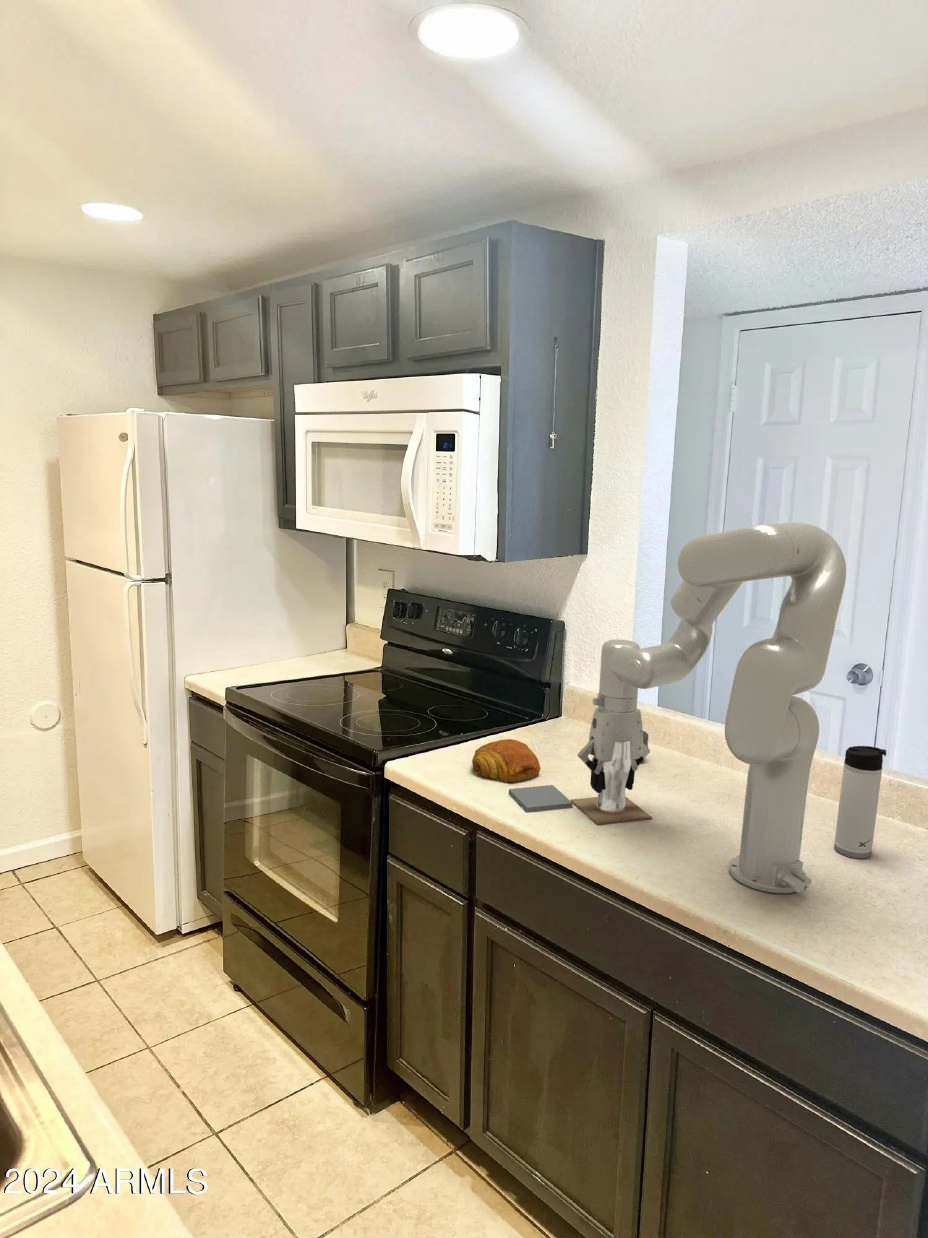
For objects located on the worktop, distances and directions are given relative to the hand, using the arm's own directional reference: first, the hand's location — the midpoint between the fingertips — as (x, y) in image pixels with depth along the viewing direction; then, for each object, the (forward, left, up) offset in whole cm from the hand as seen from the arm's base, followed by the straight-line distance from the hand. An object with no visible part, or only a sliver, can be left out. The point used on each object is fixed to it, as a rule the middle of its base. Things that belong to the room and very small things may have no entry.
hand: (611, 788), depth 168 cm
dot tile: (0, 0, -5) cm, 5 cm away
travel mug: (-28, -35, -5) cm, 45 cm away
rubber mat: (+8, +12, -5) cm, 15 cm away
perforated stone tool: (+24, -16, -5) cm, 29 cm away
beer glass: (0, 0, -4) cm, 4 cm away
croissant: (+25, +13, -5) cm, 29 cm away
